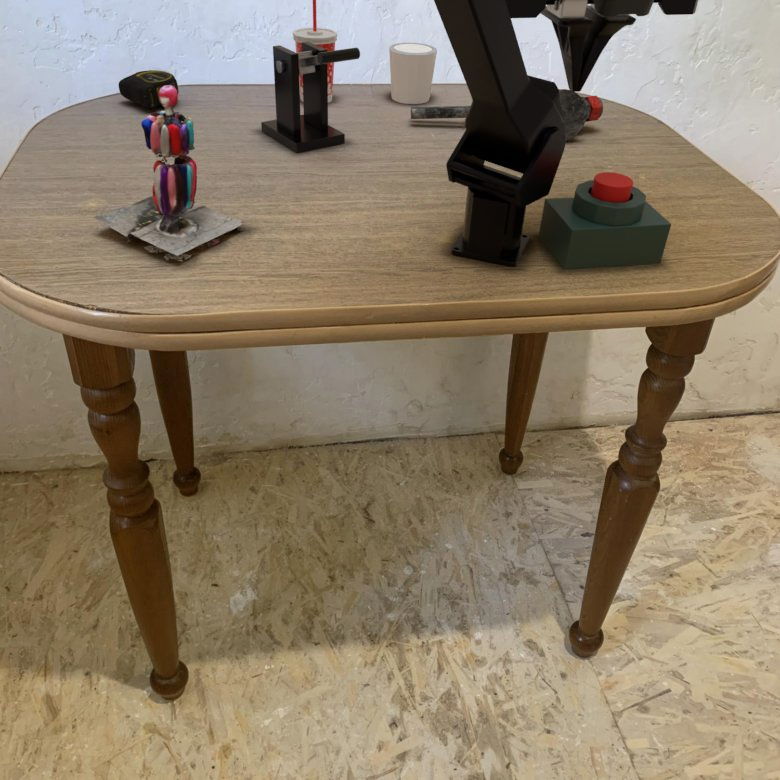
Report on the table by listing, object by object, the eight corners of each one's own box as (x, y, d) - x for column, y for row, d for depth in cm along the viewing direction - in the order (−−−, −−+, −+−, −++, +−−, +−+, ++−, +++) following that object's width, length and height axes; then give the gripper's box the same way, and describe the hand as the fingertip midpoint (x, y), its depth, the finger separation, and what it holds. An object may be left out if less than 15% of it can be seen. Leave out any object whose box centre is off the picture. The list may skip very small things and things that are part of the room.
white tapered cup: (441, 97, 115) (445, 47, 110) (418, 108, 110) (421, 56, 106) (402, 88, 117) (404, 39, 113) (378, 99, 113) (379, 48, 108)
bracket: (344, 143, 98) (345, 53, 91) (296, 153, 94) (293, 60, 88) (308, 122, 103) (305, 36, 97) (261, 131, 100) (256, 42, 93)
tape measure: (119, 103, 107) (114, 75, 105) (161, 93, 111) (157, 66, 109) (147, 115, 103) (142, 86, 101) (189, 104, 107) (186, 76, 105)
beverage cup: (343, 104, 110) (343, -4, 102) (301, 107, 108) (298, -3, 100) (329, 91, 115) (328, -13, 106) (289, 94, 113) (285, -12, 104)
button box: (564, 270, 73) (575, 211, 69) (538, 237, 78) (547, 181, 75) (660, 264, 75) (676, 206, 71) (628, 232, 80) (642, 176, 77)
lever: (361, 64, 88) (358, 41, 87) (324, 69, 85) (320, 46, 84) (314, 72, 96) (310, 51, 95) (279, 77, 94) (275, 56, 93)
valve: (583, 121, 114) (610, 141, 101) (408, 123, 114) (412, 144, 101) (588, 74, 111) (616, 89, 98) (408, 77, 111) (412, 92, 97)
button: (600, 205, 72) (604, 187, 70) (584, 190, 74) (588, 172, 73) (635, 203, 72) (640, 186, 71) (619, 188, 75) (623, 171, 74)
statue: (244, 240, 78) (250, 92, 68) (177, 275, 72) (173, 116, 62) (165, 200, 82) (159, 54, 72) (94, 230, 75) (78, 74, 66)
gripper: (535, -86, 58) (509, 123, 67) (758, -85, 61) (703, 114, 71) (490, -103, 66) (473, 84, 76) (688, -102, 69) (648, 77, 79)
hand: (574, 90), depth 75 cm, fingers closed
